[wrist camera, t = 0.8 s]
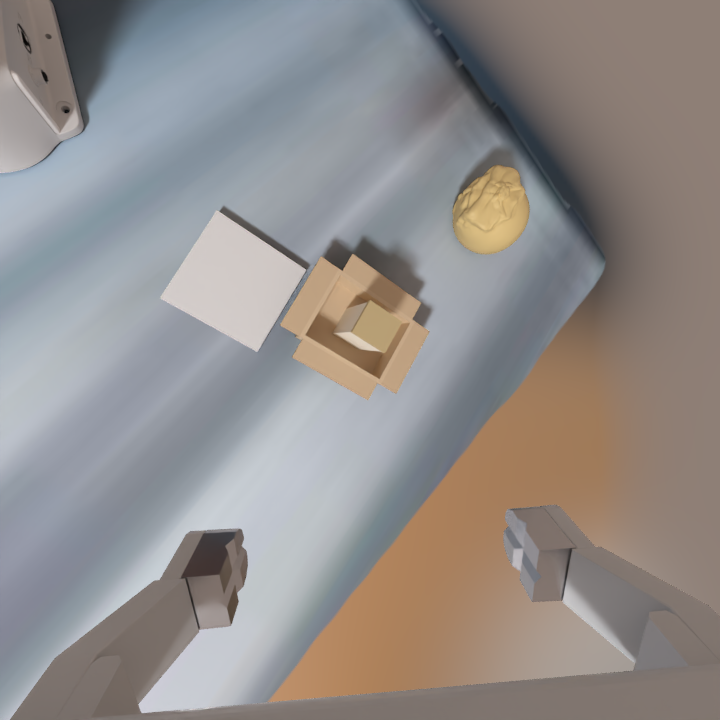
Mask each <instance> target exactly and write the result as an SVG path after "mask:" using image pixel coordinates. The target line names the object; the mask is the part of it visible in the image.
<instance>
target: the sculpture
mask: <svg viewBox="0 0 720 720" xmlns="http://www.w3.org/2000/svg"><path fill="white" fill-rule="evenodd" d="M528 218H529V202H528V198H527V196H526V194H525V189H524V188H523V187H522V185H521V184H520V176H519V173H518V171H517V170H516V169H514V168H511V167H504V166H502V165H495V166H493V167H491V168H490V169H489V170H488V171H487V172H485V173H484V176H483V177H478V178H477V179H476V180H474V181H473V182H472V183H471V184H470V185H469V186H468V187H467V188H466V189H465V190H464V191H463V193H461V194H459V196H458V199H457V201H456V203H455V205H454V208H453V228H454V232H455V235H456V237H457V239H458V240H459V242H460V243H461V244H462V245H463V246H464V247H465V248H467V249H469V250H470V251H473V252H475V253H479V254H494V253H497V252H500V251H502V250H504V249H506V248H508V247H509V246H510V245H512V244H513V243H514V242H515V241H516V240H517V239H518V238H519V237H520V235H521V234H522V232H523V231H524V229H525V227H526V225H527V222H528Z"/></svg>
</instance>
